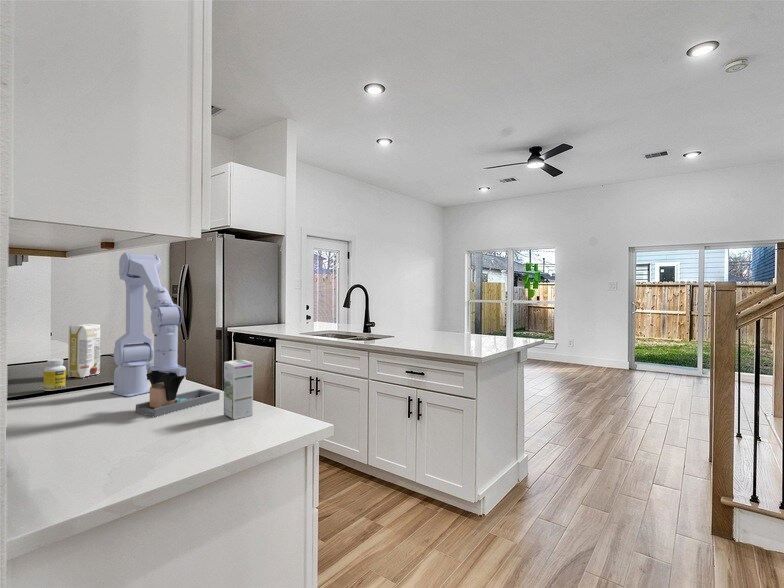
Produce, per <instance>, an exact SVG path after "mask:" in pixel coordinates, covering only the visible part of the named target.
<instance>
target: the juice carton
mask: <svg viewBox="0 0 784 588" xmlns="http://www.w3.org/2000/svg"><path fill="white" fill-rule="evenodd" d="M67 349H68V354H67V357H68V359H67V361H68V362H67V364H68V365H67V366H68V367H67V371H68V372H67V373H68V376H67V377H69V376H75V377H85V376H89V375H94V374H99V373H101V372H100V370H101V324H96V323H83V324H78V325H77V324H73V325H72V324H71V325H68V347H67ZM99 375H100V374H99Z"/></svg>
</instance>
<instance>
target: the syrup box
mask: <svg viewBox="0 0 784 588" xmlns="http://www.w3.org/2000/svg"><path fill="white" fill-rule="evenodd" d="M223 415H224V416H226V417H228V418H229V419H231V420H233V419H234V420H239V419H238V418H240V419H243V417H244V418H247V417H253V415H254V362H253V361H248V360H245V359H234V360H229V361H224V362H223Z"/></svg>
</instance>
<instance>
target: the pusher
mask: <svg viewBox="0 0 784 588" xmlns="http://www.w3.org/2000/svg"><path fill="white" fill-rule="evenodd" d="M186 400H189V399H185V398H183V399H178V398H176V403H178V402H182V401H186Z"/></svg>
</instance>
